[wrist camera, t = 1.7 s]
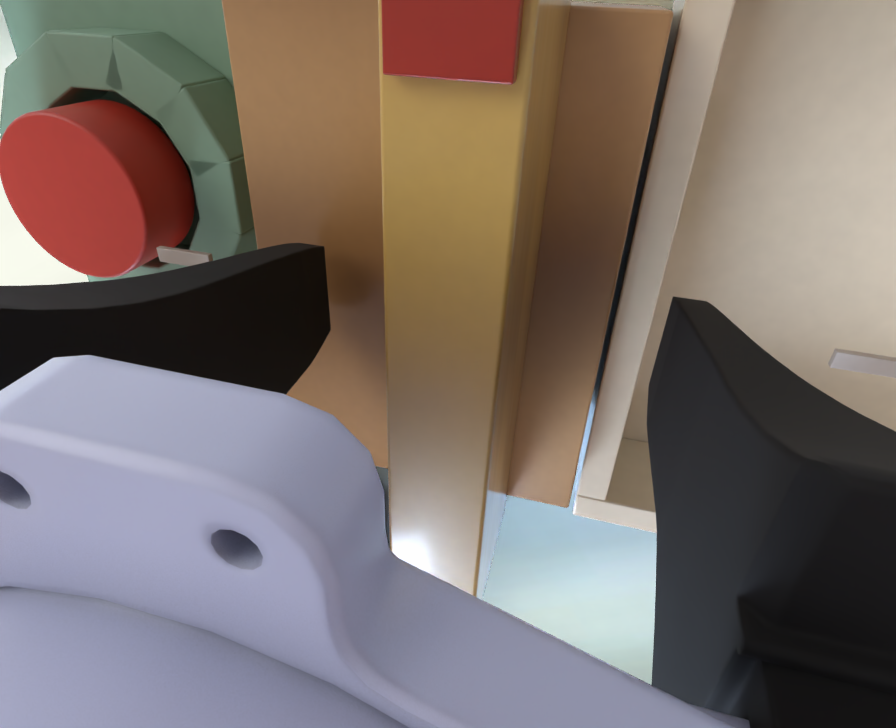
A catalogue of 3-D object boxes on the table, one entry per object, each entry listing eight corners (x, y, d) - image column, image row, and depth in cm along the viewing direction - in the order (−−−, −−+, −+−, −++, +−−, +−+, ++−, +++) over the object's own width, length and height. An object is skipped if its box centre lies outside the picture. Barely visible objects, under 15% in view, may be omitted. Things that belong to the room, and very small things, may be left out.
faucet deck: (741, 504, 19) (769, 631, 15) (288, 411, 22) (216, 496, 18) (1029, -152, 10) (1262, -238, 6) (211, -151, 13) (45, -208, 10)
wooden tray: (957, 514, 17) (1020, 614, 14) (580, 440, 19) (572, 515, 17) (1370, -50, 10) (1659, -68, 7) (687, -68, 12) (703, -87, 9)
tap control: (323, 323, 20) (279, 370, 17) (120, 288, 21) (53, 327, 19) (292, -37, 14) (221, -43, 12) (22, -48, 16) (-91, -56, 13)
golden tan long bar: (504, 510, 16) (468, 657, 12) (439, 496, 16) (386, 634, 12) (576, -33, 9) (540, -51, 6) (463, -37, 9) (364, -56, 6)
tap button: (208, 260, 16) (162, 289, 15) (87, 242, 17) (31, 267, 15) (178, 105, 14) (120, 119, 13) (41, 92, 15) (-30, 103, 13)
